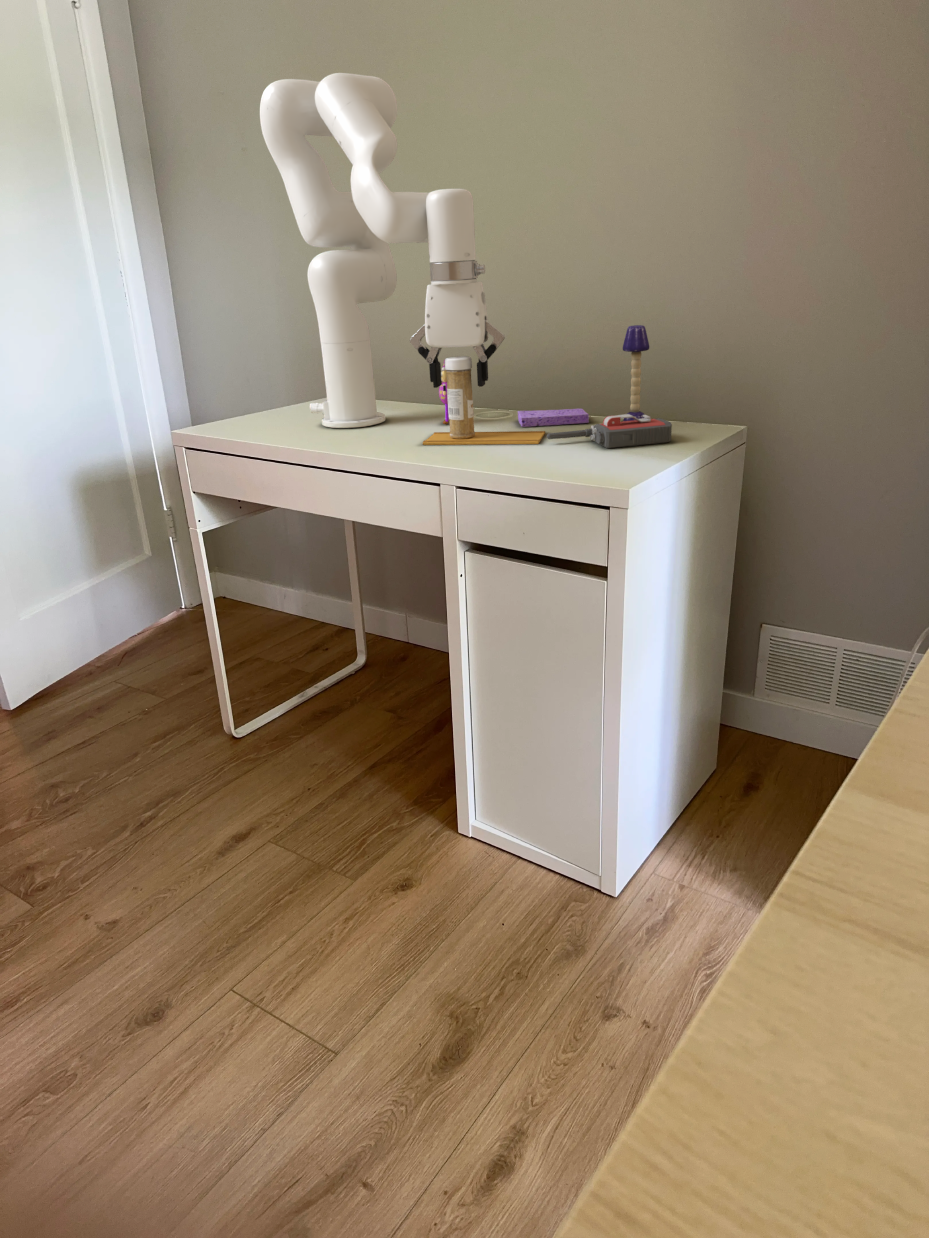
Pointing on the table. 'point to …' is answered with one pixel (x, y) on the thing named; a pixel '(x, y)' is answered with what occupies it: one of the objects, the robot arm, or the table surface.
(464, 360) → the brown spice jar
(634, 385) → the toy lamp
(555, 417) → the sponge
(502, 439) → the wooden board
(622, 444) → the walkie-talkie
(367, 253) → the robot arm
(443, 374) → the purple clown figurine
